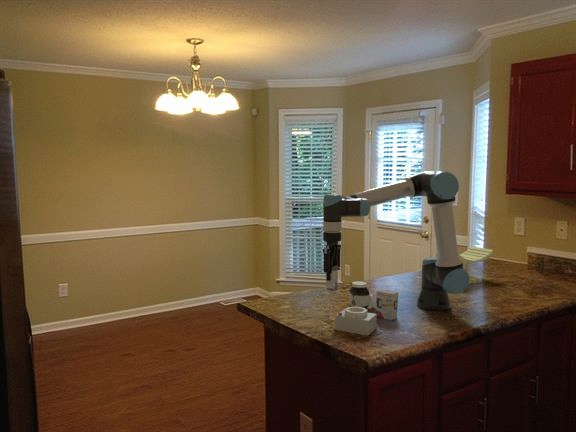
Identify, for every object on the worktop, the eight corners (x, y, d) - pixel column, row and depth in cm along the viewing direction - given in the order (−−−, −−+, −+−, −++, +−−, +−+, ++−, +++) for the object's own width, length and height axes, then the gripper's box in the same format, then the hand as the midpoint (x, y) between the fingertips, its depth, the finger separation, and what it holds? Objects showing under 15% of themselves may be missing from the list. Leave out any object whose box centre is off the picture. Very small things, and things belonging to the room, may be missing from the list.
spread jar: (346, 305, 232) (346, 281, 231) (366, 302, 237) (367, 279, 236) (359, 312, 222) (360, 287, 220) (380, 309, 226) (381, 285, 225)
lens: (339, 288, 206) (339, 265, 205) (334, 291, 202) (334, 267, 201) (329, 287, 209) (329, 264, 208) (324, 289, 204) (324, 266, 203)
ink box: (374, 316, 215) (375, 290, 214) (380, 314, 219) (381, 288, 218) (392, 320, 210) (393, 294, 209) (397, 318, 214) (398, 291, 212)
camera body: (376, 328, 200) (376, 309, 199) (367, 335, 192) (368, 315, 191) (344, 322, 207) (344, 304, 206) (334, 329, 198) (335, 310, 198)
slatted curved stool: (468, 274, 299) (470, 245, 297) (491, 280, 286) (493, 249, 284) (434, 280, 283) (436, 250, 281) (457, 286, 270) (459, 254, 268)
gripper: (332, 228, 212) (332, 281, 215) (314, 233, 197) (314, 290, 200) (348, 229, 208) (348, 283, 211) (331, 234, 193) (331, 292, 196)
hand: (331, 286), depth 205 cm, fingers closed on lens, 4 cm apart
